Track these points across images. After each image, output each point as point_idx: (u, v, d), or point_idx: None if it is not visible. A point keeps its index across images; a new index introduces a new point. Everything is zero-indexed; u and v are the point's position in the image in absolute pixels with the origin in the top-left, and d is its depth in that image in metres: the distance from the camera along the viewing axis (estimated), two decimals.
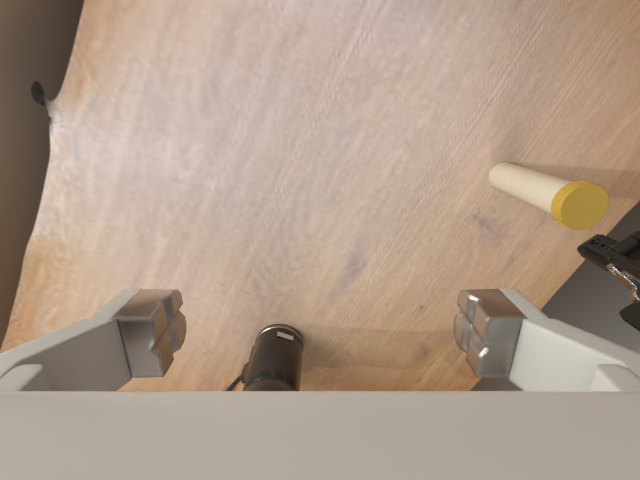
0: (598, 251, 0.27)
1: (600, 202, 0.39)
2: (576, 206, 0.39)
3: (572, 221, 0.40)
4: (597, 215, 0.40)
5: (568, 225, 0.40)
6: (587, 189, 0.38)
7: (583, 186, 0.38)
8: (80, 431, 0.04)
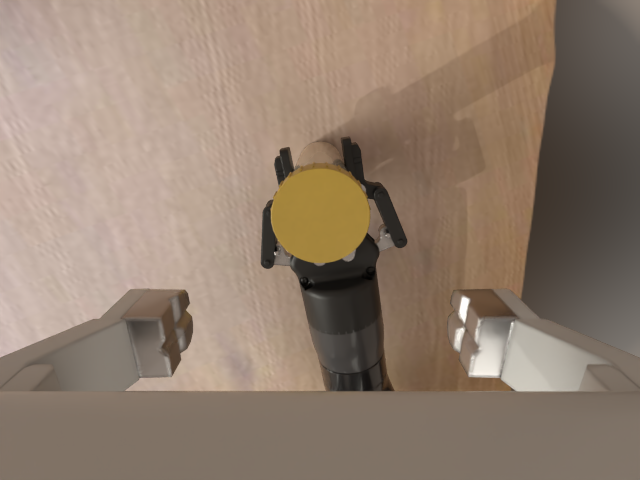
0: (362, 167, 0.29)
1: (340, 192, 0.18)
2: (305, 225, 0.19)
3: (323, 250, 0.19)
4: (357, 215, 0.19)
5: (323, 260, 0.20)
6: (294, 189, 0.18)
7: (282, 189, 0.18)
8: (80, 431, 0.04)
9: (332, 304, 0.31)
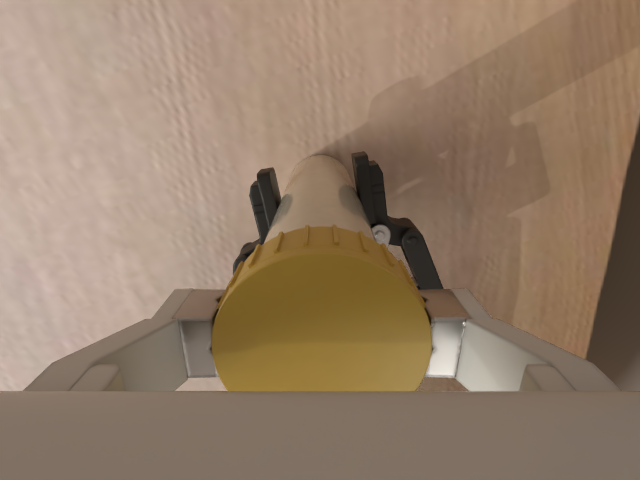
0: None
1: (368, 304, 0.08)
2: (287, 368, 0.09)
3: None
4: (403, 349, 0.08)
5: None
6: (262, 297, 0.08)
7: (234, 297, 0.08)
8: (80, 431, 0.04)
9: None
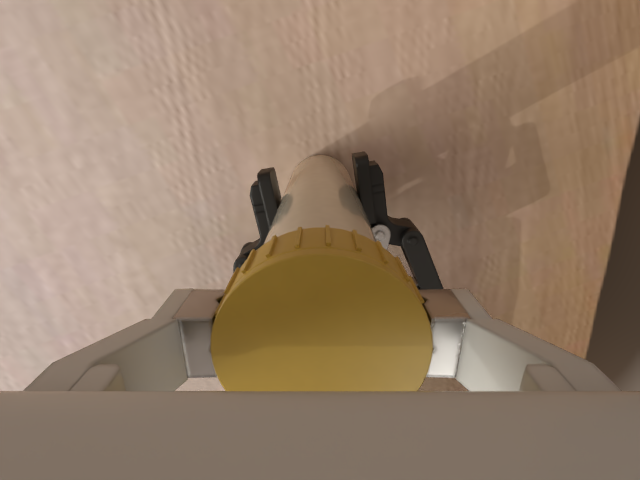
0: None
1: (271, 308, 0.08)
2: (332, 385, 0.09)
3: (400, 362, 0.08)
4: (331, 284, 0.08)
5: (423, 367, 0.08)
6: (249, 388, 0.09)
7: None
8: (80, 431, 0.04)
9: None
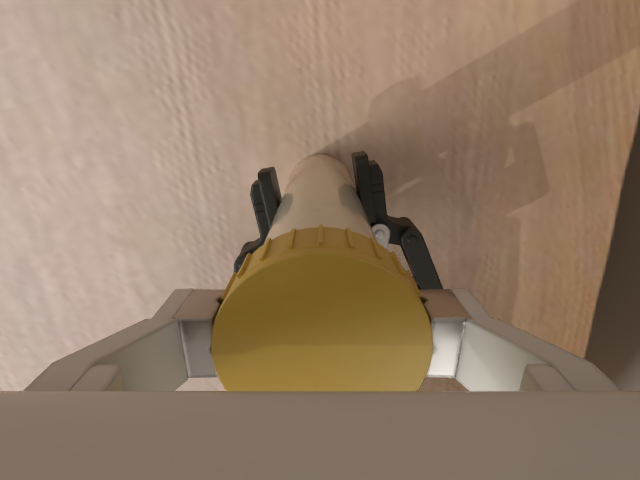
0: (384, 198, 0.19)
1: (261, 383, 0.09)
2: (361, 352, 0.08)
3: (348, 288, 0.08)
4: (242, 335, 0.08)
5: (360, 266, 0.07)
6: None
7: None
8: (80, 431, 0.04)
9: None
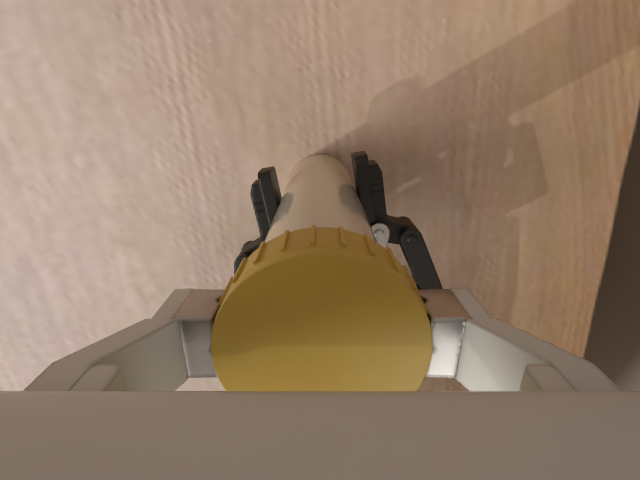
0: (384, 197, 0.19)
1: None
2: (326, 322, 0.08)
3: (249, 322, 0.08)
4: None
5: (226, 310, 0.08)
6: (408, 346, 0.08)
7: (424, 327, 0.08)
8: (80, 431, 0.04)
9: None
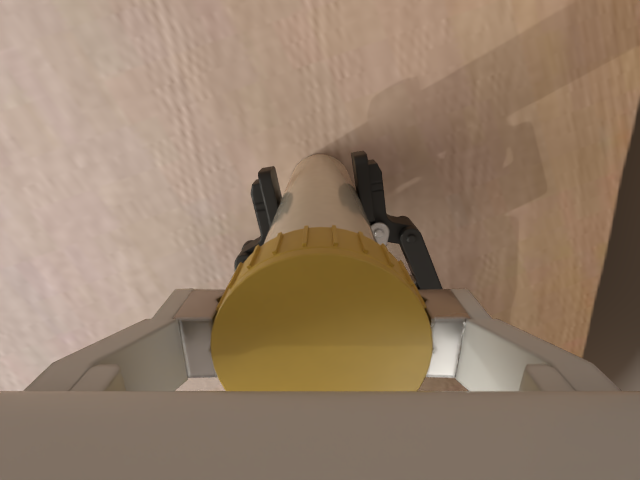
0: None
1: (394, 346, 0.08)
2: (283, 345, 0.08)
3: None
4: None
5: None
6: (328, 278, 0.08)
7: (308, 260, 0.07)
8: (80, 431, 0.04)
9: None
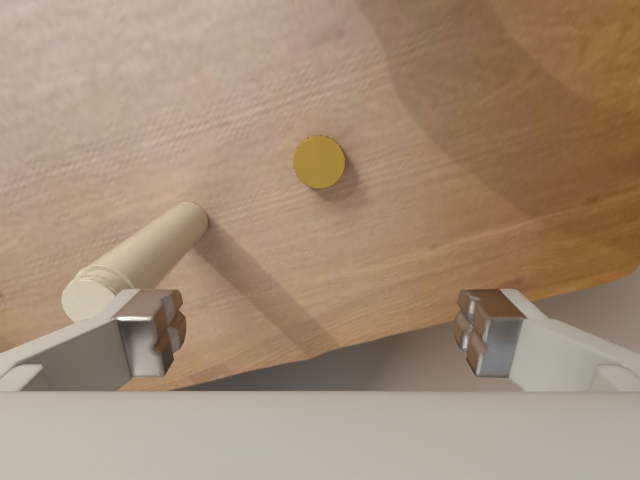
0: None
1: (320, 146, 0.36)
2: (315, 171, 0.36)
3: (330, 177, 0.37)
4: (334, 151, 0.36)
5: (333, 182, 0.37)
6: (300, 158, 0.36)
7: (295, 161, 0.36)
8: (80, 431, 0.04)
9: None
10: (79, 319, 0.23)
